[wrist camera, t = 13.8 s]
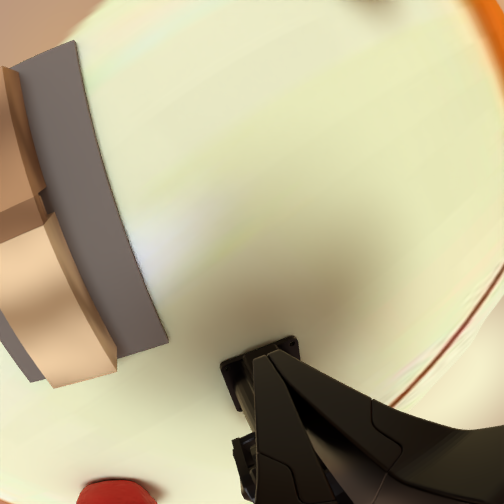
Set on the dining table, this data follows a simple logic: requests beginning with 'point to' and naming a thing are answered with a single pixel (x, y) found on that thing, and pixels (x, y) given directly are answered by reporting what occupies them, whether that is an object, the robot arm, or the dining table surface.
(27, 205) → the wooden block
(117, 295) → the underlay mat
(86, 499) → the pomegranate
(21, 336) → the birch plank
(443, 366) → the dining table surface
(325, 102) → the dining table surface
